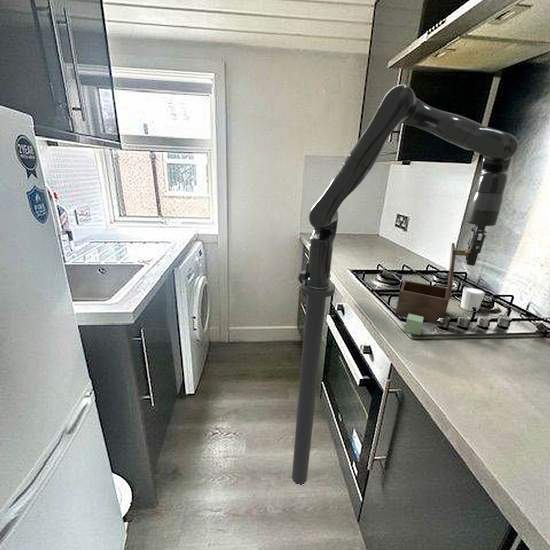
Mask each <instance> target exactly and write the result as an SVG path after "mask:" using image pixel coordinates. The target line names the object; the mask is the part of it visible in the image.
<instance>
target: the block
mask: <svg viewBox="0 0 550 550" xmlns="http://www.w3.org/2000/svg"><path fill="white" fill-rule="evenodd" d="M423 319H424V317H422V316H417V315H413V314H408V317H407V318H406V322H405V327H404V332H406V333H408V334H412V335H417V336H421V333H422V329H423V323H424V320H423Z"/></svg>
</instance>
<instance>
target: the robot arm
mask: <svg viewBox="0 0 550 550" xmlns="http://www.w3.org/2000/svg"><path fill="white" fill-rule="evenodd" d="M399 124H404V125H407V126H412V127H414V128H418V129H421V130H423V131H426V132H428V133H430V134H433V135H434V136H435V137H439V138H440V139H442V140H443V141H444V140H445V141H447V142H448V143H451V144H452V145H455V146H457V147H460V148H461V149H464V150H468V151H473V152H475V153H477V154H479V155H480V156H481V155H482V156H483V158H482V163H481V169H480V174H479V176H478V179H477V183H476V186H475V190H474V193H473V195H472V199H471V202H470V206H469V210H468V213H467V218H466V223H467V224H470V225H473V227H471V228H470V229H469V236H468V239H467V249H470V250H469V256H468V257H466V256H465V261H466V265H468V266H476V262H477V259H478V255H479V254H480V253H482V248H483V245H484V242H485V238H486V237H487V233H488V232H487V230H486V227H495V226H496V224H497V221H498V218H499V214H500V212H501V208H502V205H503V199H504V198H503V197H504V193H505V190H506V186H507V182H508V179H509V177H508V171H509V168H510V166H511V165H510V164H511V161H512V158H513V156H515V154H516V153H517V151H518V149H519V141H518V139H517V137H516V136H515V135H512V134H511V133H509V132H505V131H503V130H499V129H496V128H493V127H489V126H485V125H483V124H482V123H480V122H477V121H475V120H472V119H470V118H468V117H465V116H463V115H460V114H457V113H452V112H448V111H445V110H441V109H438V108H435V107H432V106H430V105H429V104H427V103H426V102H424V101H422V100H421V99H419V98H417V97H416V94H415V92H414V90H413V88H411V87H410V86H409V85H408V84H399V85H396V86H394V87H392V88H391V89H390V90H389V91H388V92H387V93H386V94H385V96H384V98H383V100H382V101H381V103H380V105H379V106H378V108H377V110H376V112H375V114H374V115H373V117H372V120H371V121H370V122H369V124H368V126H367V128H366V129H365V131H364V132H363V133H362V134H361V136H360V137H359V139H358V140H357V142H356V143H355V145H354V146H353V148H352V149H351V150H350V152H349V153H348V154H347V156H346V158H345V159H344V161H343V162H342V164H341V166H340V167H339V169H338V171H337V172H336V173H335V175H334V177H333V179H332V180H331V181H330V184H329V186H328V187H327V188H326V190H325V191H324V193H323V194H322V195H321V196H320V197H319V199H318V200H317V202H315V204H314V205H313V206H312V207H311V209H310V211H309V214H308V221H309V224H310V225H311V227H313V232H312V234H311V236H310V238H309V246H308V259H307V260H308V261H307V262H306V263H305V269H303V270H302V271H300V272H299V273H298V277H297V279H298V282H299V283H301V284H303V281H305V286H307V287H309V288H312V289H319V290H322V289H327V288H329V283H330V279H331V277H332V274H331V269H332V259H333V250H334V242H335V239H336V235H337V231H338V223H339V212H338V209H339V208H340V206H341V205H342V203H343V202H344V201H345V200H346V199H347V198H348V197H349V196H350V195H351V194H353V192H354V191H355V190H356V189H357V188H358V187H359V186H360V185H361V184H362V183H363V181H364V180H365V179H366V178H367V176H368V175H369V174H370V172H371V171H372V169H373V168H374V166H375V164H376V163H377V161H378V159H379V157H380V154H381V153H382V150H383V148H384V145H385V144H386V142H387V140H388V138H389V137H390V135H391V134H392V133H393V131H394V130H395V129H396V128H397V126H398V125H399Z"/></svg>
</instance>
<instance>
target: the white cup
mask: <svg viewBox="0 0 550 550" xmlns="http://www.w3.org/2000/svg"><path fill="white" fill-rule="evenodd" d="M485 295H486V292H485V291H484V290H482V289H479V288H475V287H463V289H462V296H461V302H460V307H461V309H463V310H465V311H470V312H474V311H473V309H472V307H476V308H477V309H476V311H475V312H478V311H479V309H480V307H481V305H482V302H483V300H484V297H485Z"/></svg>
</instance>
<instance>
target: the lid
mask: <svg viewBox="0 0 550 550" xmlns="http://www.w3.org/2000/svg"><path fill="white" fill-rule="evenodd" d="M450 247H451V248H450V257H449V269H448V277H447V278H448V279H447V288H448V299H449V300H451V299H452V291H453V279H454V273H455V272H454V271H455V261H456V256H462V257H463V256H464V257H465V258H466V257H468V256H469V250H470V249H468V248H465V250H462V249H461V250H460V249H459V250H458V249H456V243H455V242H452V243H451V246H450Z"/></svg>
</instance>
